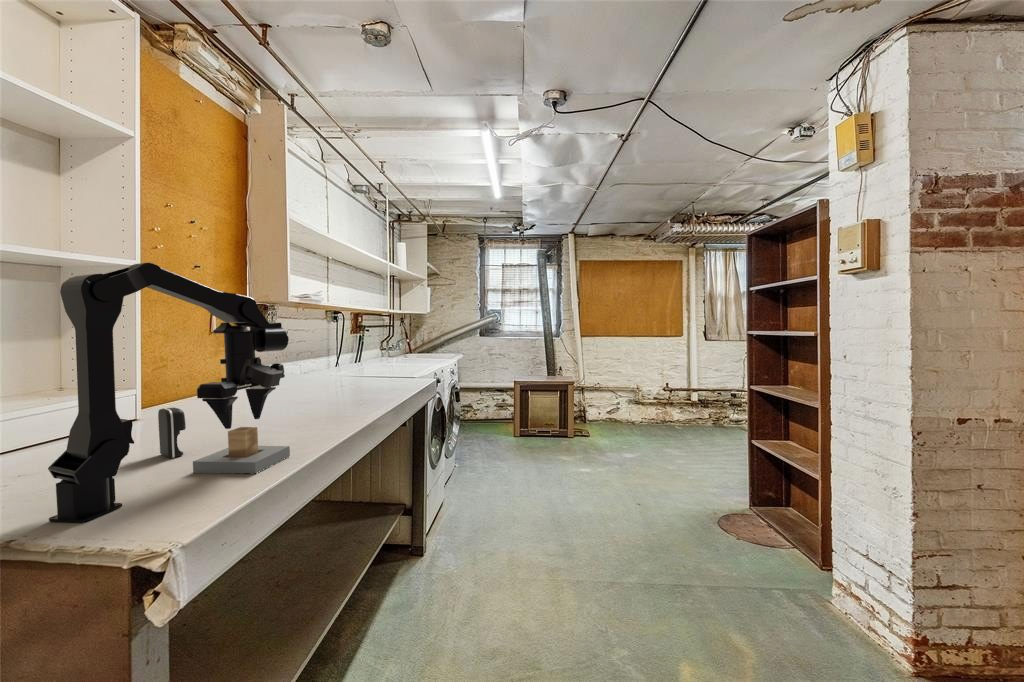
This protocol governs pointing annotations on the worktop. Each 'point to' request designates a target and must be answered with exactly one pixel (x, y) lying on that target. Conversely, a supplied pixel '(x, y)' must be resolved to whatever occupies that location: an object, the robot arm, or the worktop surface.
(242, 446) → the wood grain block
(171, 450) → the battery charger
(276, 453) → the socket plate
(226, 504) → the worktop surface
